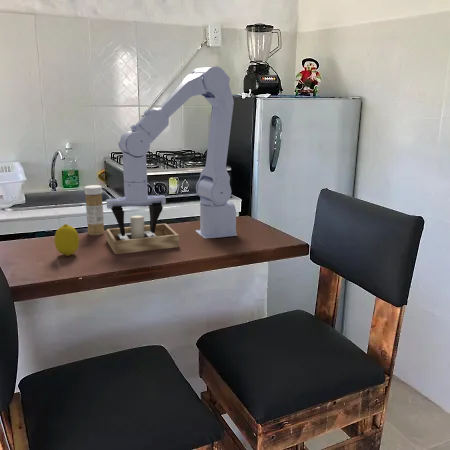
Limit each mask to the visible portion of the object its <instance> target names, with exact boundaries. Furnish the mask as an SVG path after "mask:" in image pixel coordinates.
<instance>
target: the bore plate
mask: <svg viewBox="0 0 450 450" xmlns="http://www.w3.org/2000/svg"><path fill="white" fill-rule="evenodd" d="M144 234H145V238H147V237H157V236H156V235H155V234H154V233H152V232H151V231H144ZM128 239H131V232H130V233H125V236H122V235H121V233H120V234H117V241H118V240H128Z"/></svg>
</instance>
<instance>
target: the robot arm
mask: <svg viewBox="0 0 450 450" xmlns="http://www.w3.org/2000/svg"><path fill="white" fill-rule="evenodd" d="M230 80H231V78H230V76H229V75H228V74H227V73H226V71H225V70H224V69H223V68H222V67H219V66H215V65H213V66H211V67H197V68H194V69H193V70H192V71H191V73H189V74H188V75H186V76H185V77H184V79H183V80H182V81H181V82H180V84H179V85H178V86H177V87H176V88H175V89H174V90H173V91H172V92H171V94H170V95H169V96H168V97H167V98H166V99H165V101H164V102H163V103H162V104H161V105H160V106H159V107H158V108H156V107H152V108H150V110H149V109H146V110H144V112H143V116H142V117H141V118H140V120H138V122H136V123H135V124H132V125H130V129H131V130H129V131H126V132H124V133H123V134H122V135H121V136H120V140H119V142H118V147H119V149H120V151H121V152H122V172H123V188H124V189H123V193H124V196H122V197H117V198H109V199H108V198H107V199H106V207H107V208H106V209H108V210H109V209H111V211H112V213H113V216H114V217H115V220H116V222H117V224H118V228H120V233H121V235H122V236H125V229H124V227H125V211H124V208H126V207H137V206H148V209H149V210H148V211H149V225H150V231H151V232H152V233H155V228H156V224H158V220H159V218H160V215H161V213H162V211H163V208H164V207H163V205H166V203H167V200H166V196H165V195H162V194H160V195H149V193H148V192H149V191H148V169H147V166H148V165H147V162H148V161H147V153H148V152H149V151H150V148H151V144H152V143H154V141H155V140H156V139H157V138H158V137H159V135H161V134H162V133H163V131H164V130H165V129H166V128H167V127H168V126H169V124H170V118H171V116H173V115H174V113H176V111H178V109H180V108H181V107H182V106H183V105H184V104H185V103H186V102H187V101H188V100H190V99H191V98H192V97H194V96H195V97H196V96H203V97H204V99H206V101H207V102H208V103H209V104H210V105H211V107H212V108H211V115H210V116H211V117H210V125H209V131H208V132H209V134H208V140H207V141H208V142H207V152H206V161H205V166H204V167H203V168H202V170H201V171H200V176H199V179H198V181H197V182H196V185H195V191H196V194H197V195H198V196H199V197H200V200H199V212H200V214H199V220H200V222H199V223H200V225H199V226H200V229H196V230H195V232H196V234H198V235H199V236H201V238H203V239H213V238H214V239H217V238H227V237H235V236H238V234H237V209H236V206H235V204H234V202H232V201H229V200H230V199H231V196H232V188H231V185H230V184H231V183H230V181H231V177H230V174H229V173H228V171H227V169H226V168H227V162H228V161H227V159H228V153H229V152H228V151H229V146H230V145H229V144H230V143H229V142H230V135H231V127H232V119H233V113H234V112H233V111H234V103H235V101H234V97H233V93H232V89H231V86H230ZM123 207H124V208H123Z"/></svg>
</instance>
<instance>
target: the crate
mask: <svg viewBox="0 0 450 450" xmlns="http://www.w3.org/2000/svg"><path fill="white" fill-rule="evenodd" d="M124 229H125V233H130V232H131V226H124ZM144 231H150V224H144ZM105 233H106V234H105V235H106V242H107V244H108V245H109V247H110V249H111V250H112V252H113V253H114V255H122V254H131V253H137V252H146V251H155V250H165V249H172V248H174V249H175V248H180V235H179V234H178V233H177V232H176V231H175V230H174V229H173V228H172V227H170V226H169V225H168V224H167V223H157V224H156V228H155V233H154V234H155V235H156V236H157V237H147V238H137V239H128V240H118V241H117V234H120V228H119V227H114V228H107V229H106V230H105Z"/></svg>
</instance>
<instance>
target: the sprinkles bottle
mask: <svg viewBox="0 0 450 450" xmlns="http://www.w3.org/2000/svg"><path fill="white" fill-rule="evenodd" d="M84 194H85V209H86V220H87V221H86V222H87V234H88V235H89V236H100V235H103V234H105V233H106V231H105V225H104V221H105V220H104V217H105V216H104V207H103V205H104V204H103V196H102V195H103V188H102V185H99V184H95V185H94V184H91V185H86V186H84Z"/></svg>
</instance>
